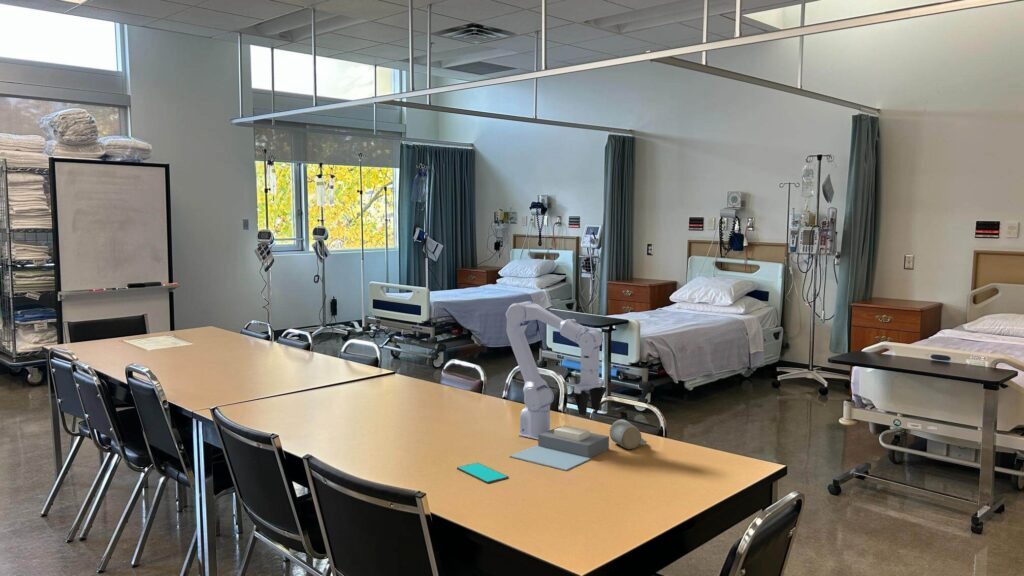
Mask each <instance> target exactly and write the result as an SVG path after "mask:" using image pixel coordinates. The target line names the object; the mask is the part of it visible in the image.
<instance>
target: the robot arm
mask: <svg viewBox="0 0 1024 576" xmlns="http://www.w3.org/2000/svg"><path fill="white" fill-rule="evenodd" d="M505 318H506V329H505V330H506V335H507V337H508V340H509V343H510V346H511V349H512V352H513V354H514V356H515V359H516V363H517V365H518V369H519V370H520V373H521V376H522V379H523V382H524V386H523V389H522V391H523V392H522V393H523V396H524V397H523V398H524V400H523V401H524V405H525V406H524V407H523V408H522V410H521V412H520V416H519V433H518V436H520V437H524V438H529V439H534V440H537V441H538V435H539V434H542V433H544V432H547V431H550V430H551V404H552V403H553V401H554V398H555V397H554V396H555V395H554V392H553V390H552V389H551V388H550V387H549V385H548V383H547V381H546V380H545V379H543V378H542V377H541V375H540V371H539V370H538V366H537V364H536V361H535V359H534V356H533V353H532V350H531V348H530V344H529V342H528V340H527V336H526V334H525V332H526V329H527V327H528V325H530V323H531V322H533V321H536V320H537V321H540V322H542V323H544V324H546V325H549V326H550V327H553V328H555V329H556V330H558V331H559V333H560V336H563V337H564V338H566V339H568V340H569V341H572V342H573V343H575V344H578V347H579V348H580V382H579V383H578V384H577V385H575V386H574V387H573V390H572V392H571V395H572V396H573V398H574V400H575V404H576V406H577V410H578V414H579V415H582V416H587V415H586V414H587V410H588V404H589V399H590V401H591V402H590V403H591V409H592V410H594V411H600V408H601V403H602V400H603V396H604V395H605V393H606V391H607V387H605V379H602V378H600V349H601V348H600V346H601V345H602V343H603V340H604V339H603V335H602V334H601V332H600V331H598V330H597V329H594V328H593V329H590V327H588V326H584V325H582V324H581V323H578V322H577V320H576V319H575V318H572V319H571V318H567V319H565V320H564V319H563V318H561V317H559V316H557V315H556V314H554V313H553V312H551V311H549V310H547V309H545V308H544V307H542V306H541V305H540V304H537V303H534V302H533V301H531V300H526V301H523V302H518V303H517V302H515V303H514V302H513V303H512V304H511V305H509V307H508V308H507V310H506V312H505ZM587 391H588V392H589V393H586V392H587Z"/></svg>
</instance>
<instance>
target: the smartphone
mask: <svg viewBox="0 0 1024 576" xmlns="http://www.w3.org/2000/svg"><path fill="white" fill-rule="evenodd" d="M456 470H457V471H459V472H462V473H464V474H466V475H468V476H470V477H472V478H475V479H477V480H478V481H481V482H482V483H485V484H488V485H489V484H493V483H496V482H499V481H500V482H501V481H504V480H509V479H510V478H509V477H510V476H508V475H506V474H504V473H502V472H499V471H497V470H496V469H495V470H494V469H493V468H491V467H488V466H486V465H484V464H482V463H480V462H475V463H470V464H466V465H462V466H461V465H460V466H457V467H456Z"/></svg>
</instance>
